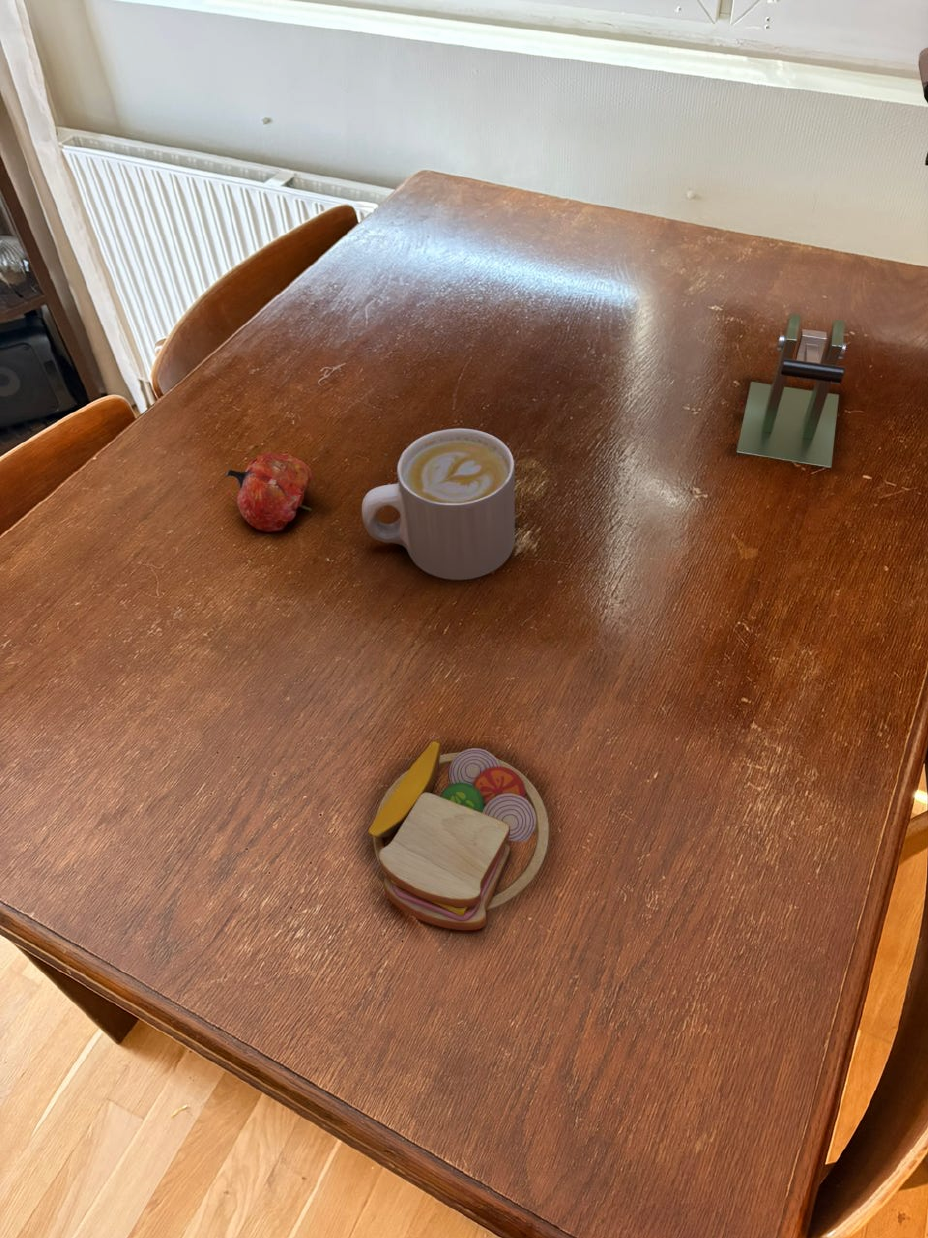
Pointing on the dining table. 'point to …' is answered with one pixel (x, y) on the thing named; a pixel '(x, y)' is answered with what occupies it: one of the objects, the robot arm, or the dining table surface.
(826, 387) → the bracket
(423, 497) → the coffee mug
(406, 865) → the toy sandwich meal
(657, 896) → the dining table surface
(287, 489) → the pomegranate
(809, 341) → the lever
